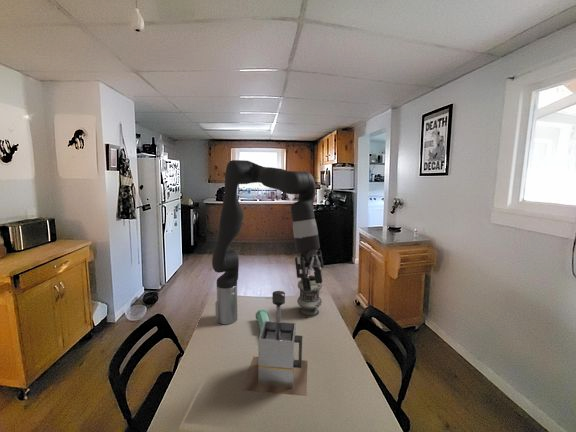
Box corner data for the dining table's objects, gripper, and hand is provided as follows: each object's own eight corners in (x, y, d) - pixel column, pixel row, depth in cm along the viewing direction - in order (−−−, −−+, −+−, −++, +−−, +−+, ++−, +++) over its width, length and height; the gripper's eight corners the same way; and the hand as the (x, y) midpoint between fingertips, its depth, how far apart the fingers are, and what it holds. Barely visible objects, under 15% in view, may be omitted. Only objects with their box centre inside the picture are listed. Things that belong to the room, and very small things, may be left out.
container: (276, 338, 105) (265, 306, 129) (262, 346, 104) (253, 312, 128) (281, 350, 107) (269, 317, 131) (267, 358, 106) (258, 322, 130)
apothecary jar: (298, 305, 145) (299, 272, 142) (321, 307, 143) (322, 274, 140) (295, 317, 133) (296, 281, 130) (320, 319, 131) (322, 283, 128)
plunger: (263, 348, 88) (263, 298, 85) (267, 333, 96) (267, 287, 93) (289, 350, 87) (290, 300, 84) (291, 334, 95) (292, 288, 93)
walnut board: (242, 393, 87) (242, 390, 86) (253, 359, 102) (253, 356, 102) (306, 399, 85) (306, 395, 85) (307, 363, 101) (307, 360, 100)
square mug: (258, 385, 88) (258, 340, 86) (264, 361, 99) (264, 320, 97) (300, 389, 87) (301, 343, 84) (301, 364, 98) (303, 323, 96)
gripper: (305, 233, 94) (312, 281, 94) (283, 238, 82) (291, 293, 81) (325, 231, 90) (333, 280, 90) (306, 236, 78) (314, 293, 77)
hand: (313, 286), depth 85 cm, fingers open, 8 cm apart
